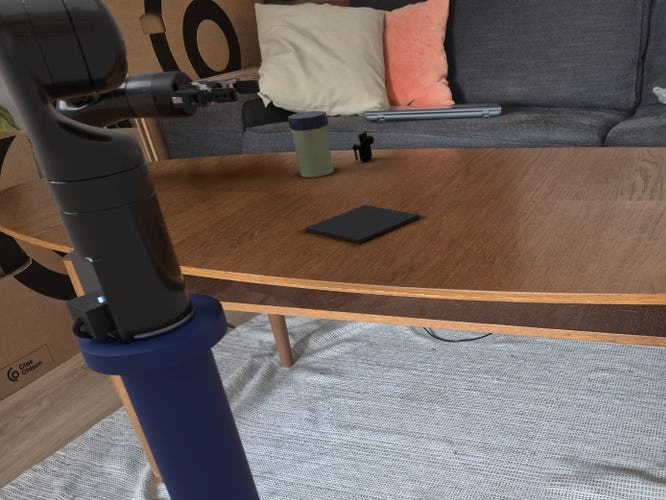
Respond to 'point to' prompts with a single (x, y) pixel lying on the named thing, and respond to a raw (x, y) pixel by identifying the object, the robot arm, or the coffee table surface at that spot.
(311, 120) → the jar lid
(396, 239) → the coffee table surface
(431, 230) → the coffee table surface
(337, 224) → the coaster
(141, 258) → the robot arm
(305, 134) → the jar
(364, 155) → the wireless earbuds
